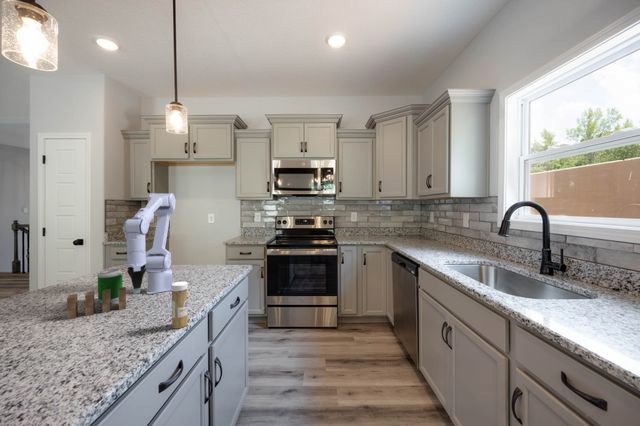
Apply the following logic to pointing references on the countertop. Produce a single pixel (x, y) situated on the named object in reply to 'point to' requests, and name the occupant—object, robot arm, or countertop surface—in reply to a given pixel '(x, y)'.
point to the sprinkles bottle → (179, 304)
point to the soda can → (110, 283)
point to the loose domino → (137, 290)
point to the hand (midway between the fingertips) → (137, 286)
